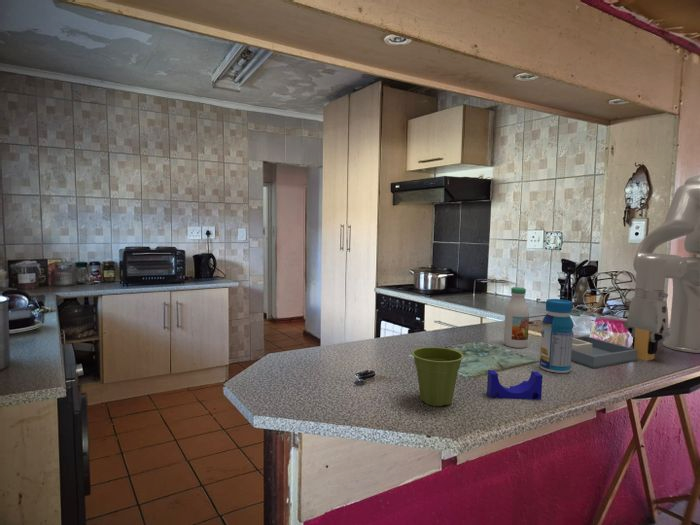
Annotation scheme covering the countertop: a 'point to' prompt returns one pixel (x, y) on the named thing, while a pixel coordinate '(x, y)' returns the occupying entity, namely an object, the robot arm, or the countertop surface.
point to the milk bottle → (516, 320)
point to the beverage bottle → (557, 336)
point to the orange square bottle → (642, 344)
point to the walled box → (600, 352)
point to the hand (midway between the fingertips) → (644, 351)
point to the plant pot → (437, 373)
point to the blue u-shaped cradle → (515, 387)
